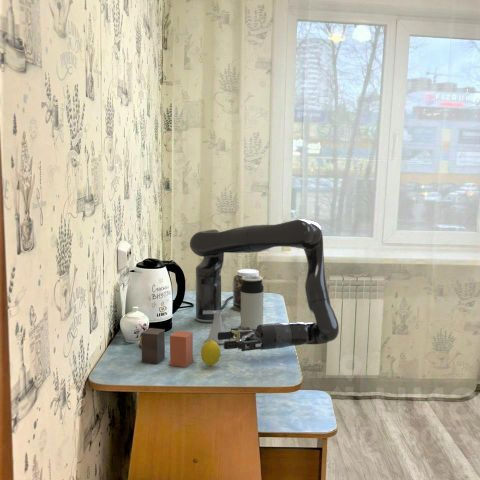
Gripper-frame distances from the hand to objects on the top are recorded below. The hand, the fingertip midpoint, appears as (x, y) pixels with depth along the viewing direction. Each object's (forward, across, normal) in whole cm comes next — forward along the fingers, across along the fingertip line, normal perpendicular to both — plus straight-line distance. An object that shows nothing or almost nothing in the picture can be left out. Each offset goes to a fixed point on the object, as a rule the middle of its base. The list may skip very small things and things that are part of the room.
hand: (220, 340), depth 173 cm
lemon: (+3, 0, +8) cm, 8 cm away
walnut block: (+18, -10, +8) cm, 22 cm away
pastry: (+17, -22, +8) cm, 29 cm away
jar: (-24, -58, +8) cm, 63 cm away
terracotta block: (+11, -5, +8) cm, 14 cm away
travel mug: (-19, -34, +8) cm, 39 cm away
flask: (-4, -22, +8) cm, 23 cm away
